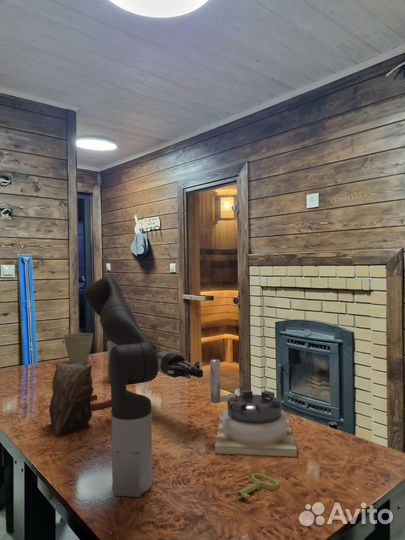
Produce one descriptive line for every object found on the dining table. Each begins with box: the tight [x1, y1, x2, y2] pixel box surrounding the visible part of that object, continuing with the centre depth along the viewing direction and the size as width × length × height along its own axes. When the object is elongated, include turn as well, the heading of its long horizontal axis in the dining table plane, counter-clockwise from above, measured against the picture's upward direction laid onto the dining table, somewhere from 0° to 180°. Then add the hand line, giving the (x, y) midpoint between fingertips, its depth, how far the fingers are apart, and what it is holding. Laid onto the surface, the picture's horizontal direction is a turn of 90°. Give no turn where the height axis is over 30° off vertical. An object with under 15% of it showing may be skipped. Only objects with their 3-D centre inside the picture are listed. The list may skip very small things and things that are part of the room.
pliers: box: [90, 394, 111, 412], centre depth 144 cm, size 12×21×3 cm, turn 146°
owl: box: [48, 362, 94, 438], centre depth 129 cm, size 13×13×20 cm
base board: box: [214, 415, 298, 458], centre depth 118 cm, size 22×22×2 cm
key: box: [236, 472, 280, 500], centre depth 91 cm, size 7×12×2 cm, turn 154°
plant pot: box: [63, 332, 94, 366], centre depth 212 cm, size 15×15×16 cm
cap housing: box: [222, 407, 288, 445], centre depth 118 cm, size 19×19×5 cm
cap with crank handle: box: [209, 358, 283, 424], centre depth 119 cm, size 16×21×17 cm
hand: (201, 373), depth 120 cm, fingers closed
